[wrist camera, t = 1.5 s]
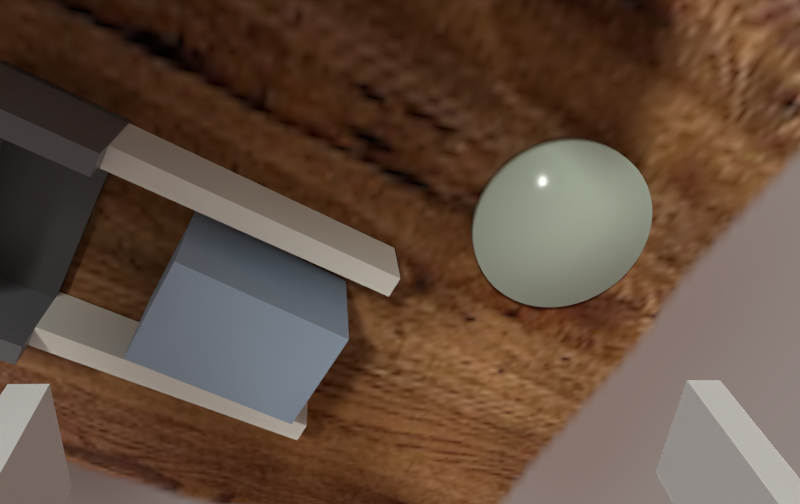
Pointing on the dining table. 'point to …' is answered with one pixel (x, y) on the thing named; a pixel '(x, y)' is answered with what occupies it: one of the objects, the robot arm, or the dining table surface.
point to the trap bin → (44, 193)
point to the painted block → (242, 320)
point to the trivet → (561, 222)
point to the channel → (234, 206)
